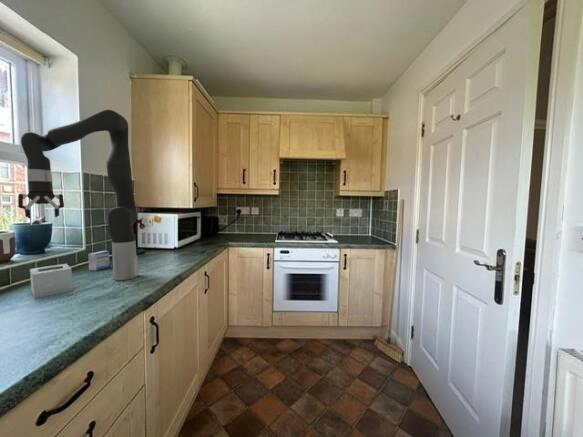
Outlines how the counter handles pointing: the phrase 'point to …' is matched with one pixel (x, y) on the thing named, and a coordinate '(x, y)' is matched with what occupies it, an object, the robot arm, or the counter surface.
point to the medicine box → (98, 260)
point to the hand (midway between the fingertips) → (43, 217)
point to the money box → (51, 280)
